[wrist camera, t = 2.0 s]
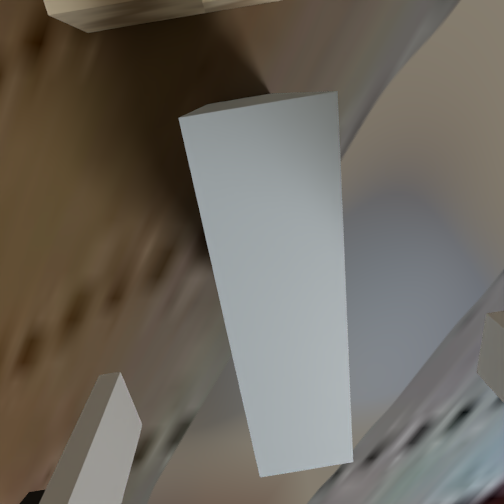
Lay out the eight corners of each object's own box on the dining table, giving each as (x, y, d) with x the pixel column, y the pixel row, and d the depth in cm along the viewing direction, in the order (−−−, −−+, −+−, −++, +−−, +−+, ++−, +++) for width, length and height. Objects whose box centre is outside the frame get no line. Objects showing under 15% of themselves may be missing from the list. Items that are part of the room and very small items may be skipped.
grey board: (293, 288, 35) (352, 462, 18) (244, 296, 35) (259, 477, 18) (270, 93, 27) (337, 90, 11) (207, 104, 27) (178, 117, 11)
